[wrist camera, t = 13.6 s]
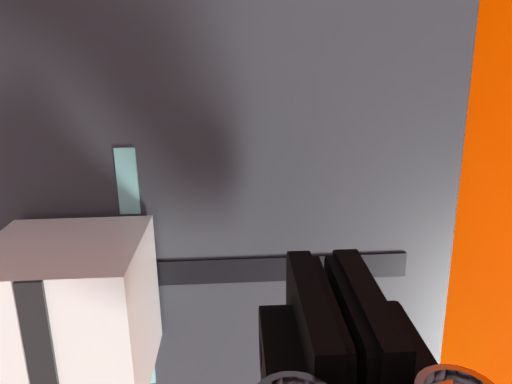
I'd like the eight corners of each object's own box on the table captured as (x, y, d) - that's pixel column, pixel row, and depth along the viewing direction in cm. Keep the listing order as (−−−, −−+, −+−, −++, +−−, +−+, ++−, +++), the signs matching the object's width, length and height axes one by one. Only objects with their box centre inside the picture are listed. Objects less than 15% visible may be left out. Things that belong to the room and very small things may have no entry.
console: (-216, -284, 12) (-303, -349, 10) (473, -275, 13) (517, -334, 11) (-57, 379, 18) (-94, 420, 16) (415, 357, 19) (437, 394, 17)
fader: (14, 219, 14) (-71, 286, 10) (152, 215, 14) (122, 279, 10) (34, 339, 15) (-35, 441, 11) (162, 334, 15) (138, 432, 11)
